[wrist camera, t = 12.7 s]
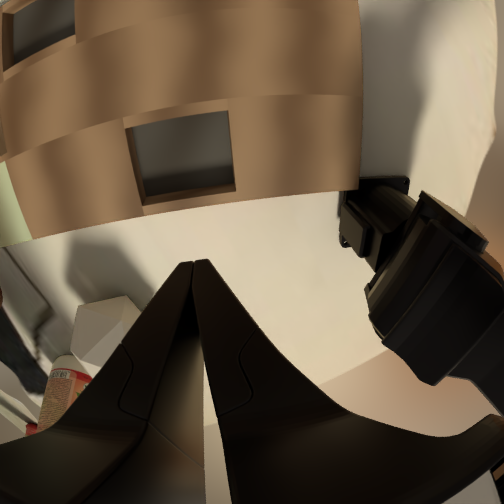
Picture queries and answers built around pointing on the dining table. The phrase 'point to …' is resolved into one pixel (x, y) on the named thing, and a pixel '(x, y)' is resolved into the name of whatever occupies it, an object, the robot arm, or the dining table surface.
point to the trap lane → (172, 107)
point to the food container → (1, 297)
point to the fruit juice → (62, 389)
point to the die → (101, 330)
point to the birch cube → (2, 143)
